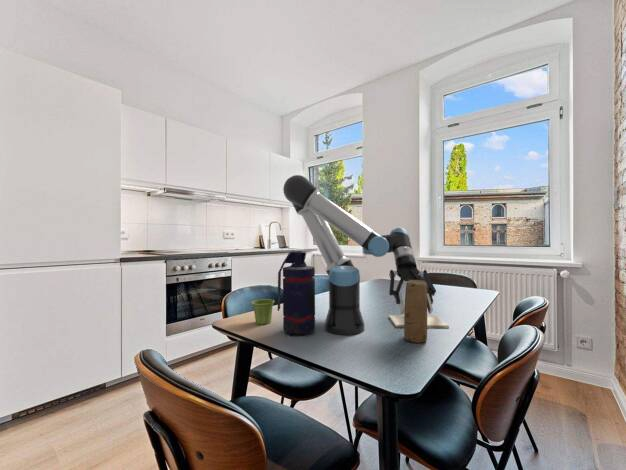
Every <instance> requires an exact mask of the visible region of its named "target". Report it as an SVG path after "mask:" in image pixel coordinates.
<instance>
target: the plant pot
mask: <svg viewBox="0 0 626 470" xmlns="http://www.w3.org/2000/svg"><path fill="white" fill-rule="evenodd" d="M274 303H275V300H274V299H269V298H267V299H266V298H264V299H262V298H261V299H256V300H252V301H251V304H252V307H253V312H254V319H255V324H257V325H260V326H261V325H264V324H265V325H268V324H270V323H271V322H272V316H273V314H272V313H273V306H274Z"/></svg>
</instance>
